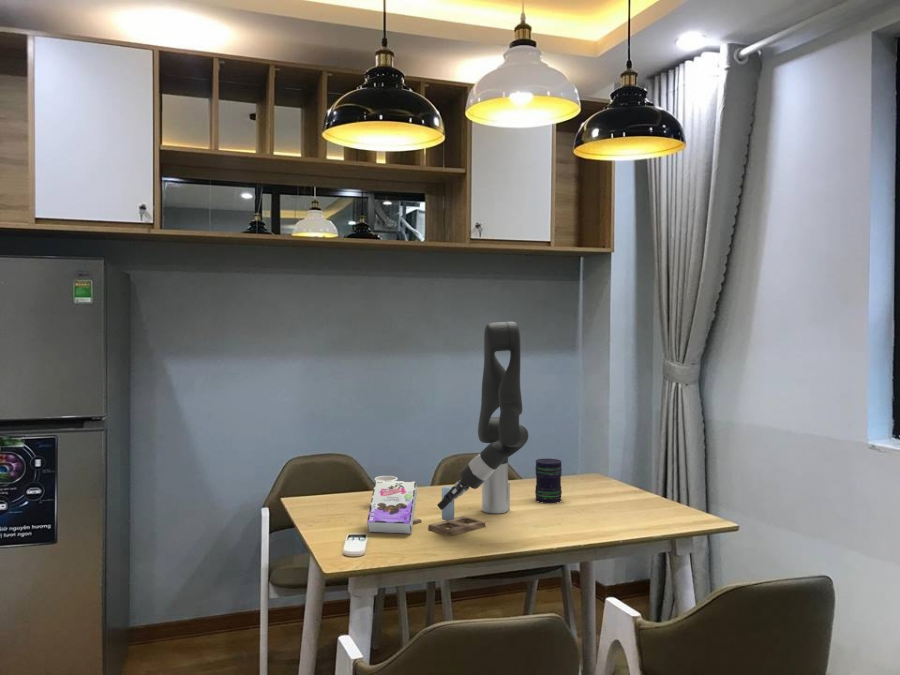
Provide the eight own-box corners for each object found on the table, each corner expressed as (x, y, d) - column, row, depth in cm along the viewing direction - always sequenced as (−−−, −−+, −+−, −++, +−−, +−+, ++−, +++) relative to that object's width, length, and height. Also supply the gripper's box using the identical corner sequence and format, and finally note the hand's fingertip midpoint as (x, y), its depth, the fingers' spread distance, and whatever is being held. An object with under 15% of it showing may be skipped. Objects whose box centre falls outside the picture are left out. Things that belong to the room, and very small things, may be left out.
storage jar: (563, 503, 262) (563, 463, 262) (536, 503, 262) (536, 463, 262) (559, 497, 272) (559, 458, 272) (534, 497, 272) (534, 458, 272)
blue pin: (448, 516, 230) (448, 485, 230) (456, 518, 227) (456, 487, 227) (439, 518, 227) (439, 487, 227) (447, 521, 224) (447, 489, 224)
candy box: (366, 521, 221) (374, 479, 233) (368, 532, 224) (376, 490, 237) (410, 523, 219) (416, 480, 232) (412, 534, 223) (417, 491, 235)
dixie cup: (369, 505, 259) (369, 478, 259) (387, 501, 265) (387, 474, 265) (384, 509, 253) (384, 481, 253) (402, 505, 259) (402, 478, 259)
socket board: (464, 520, 239) (464, 516, 239) (485, 526, 232) (485, 521, 232) (428, 529, 228) (428, 524, 228) (449, 536, 221) (449, 531, 221)
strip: (412, 519, 240) (413, 496, 239) (421, 522, 236) (421, 498, 236) (396, 523, 235) (396, 499, 235) (405, 526, 232) (405, 501, 231)
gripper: (477, 458, 231) (442, 492, 235) (462, 465, 218) (426, 501, 222) (492, 475, 229) (457, 509, 233) (479, 484, 216) (441, 520, 220)
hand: (442, 505), depth 228 cm, fingers closed on blue pin, 4 cm apart
